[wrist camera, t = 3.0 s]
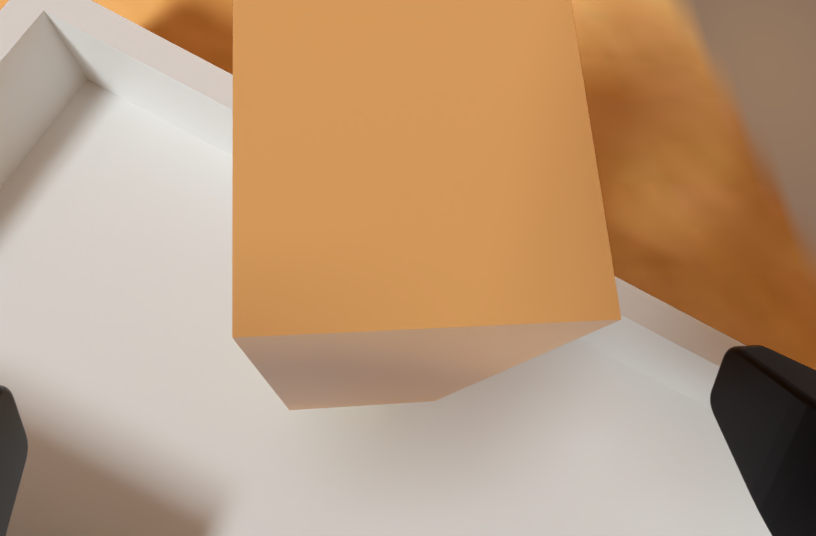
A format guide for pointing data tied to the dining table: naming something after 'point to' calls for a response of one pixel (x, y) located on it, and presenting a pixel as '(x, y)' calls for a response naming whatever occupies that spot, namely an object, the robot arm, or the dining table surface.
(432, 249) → the tan square peg
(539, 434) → the walled tray
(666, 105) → the dining table surface
